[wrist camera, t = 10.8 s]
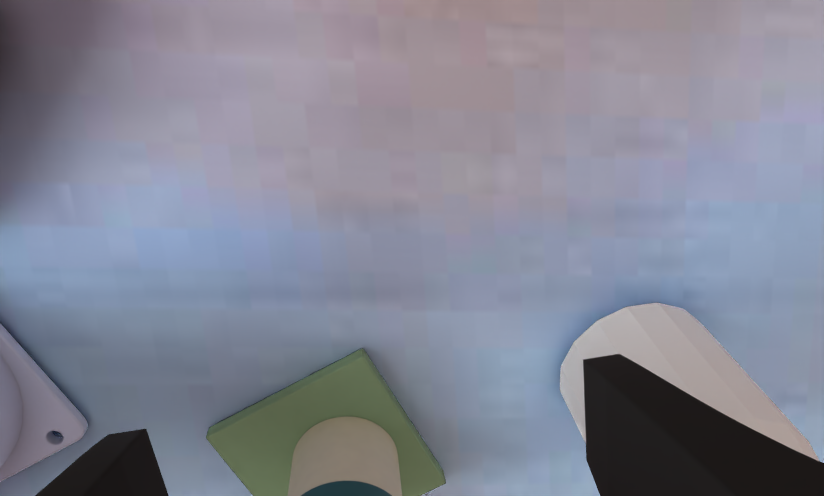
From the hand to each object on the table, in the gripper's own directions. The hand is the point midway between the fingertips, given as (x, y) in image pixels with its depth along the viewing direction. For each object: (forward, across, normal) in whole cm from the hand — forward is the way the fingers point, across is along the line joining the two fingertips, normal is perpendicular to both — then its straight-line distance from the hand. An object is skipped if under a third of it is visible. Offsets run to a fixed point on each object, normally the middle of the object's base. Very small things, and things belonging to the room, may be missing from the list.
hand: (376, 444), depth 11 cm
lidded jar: (+9, +2, +8) cm, 12 cm away
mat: (+10, +2, +8) cm, 13 cm away
